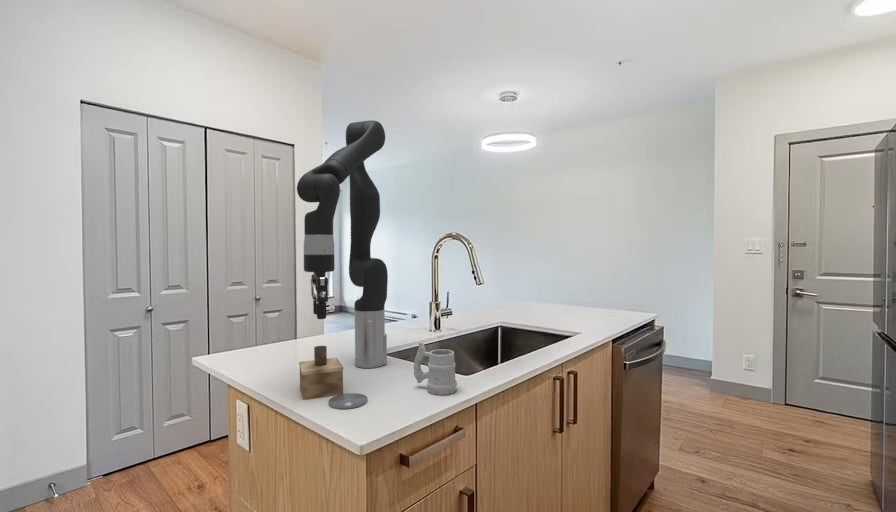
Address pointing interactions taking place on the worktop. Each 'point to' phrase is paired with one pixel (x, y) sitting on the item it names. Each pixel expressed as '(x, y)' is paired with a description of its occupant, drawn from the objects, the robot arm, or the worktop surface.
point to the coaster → (348, 401)
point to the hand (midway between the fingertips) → (319, 316)
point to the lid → (320, 363)
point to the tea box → (321, 384)
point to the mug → (437, 370)
